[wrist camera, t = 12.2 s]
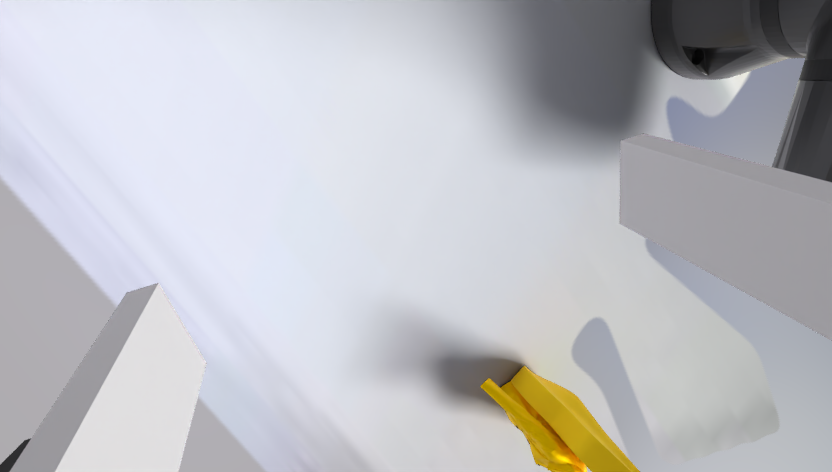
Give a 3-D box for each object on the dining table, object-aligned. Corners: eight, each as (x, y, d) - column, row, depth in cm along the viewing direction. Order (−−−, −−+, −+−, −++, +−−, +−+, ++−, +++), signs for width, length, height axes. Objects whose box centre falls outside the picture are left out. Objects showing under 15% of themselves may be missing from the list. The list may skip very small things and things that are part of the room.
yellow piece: (456, 377, 48) (580, 589, 28) (504, 327, 47) (665, 507, 28) (541, 437, 56) (684, 636, 36) (583, 395, 55) (751, 573, 36)
